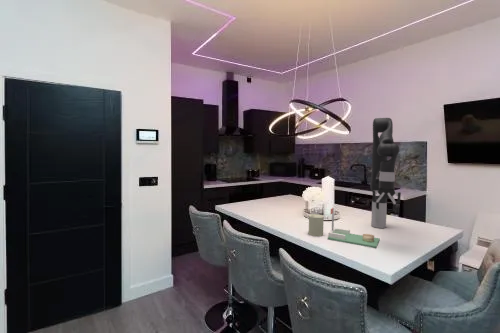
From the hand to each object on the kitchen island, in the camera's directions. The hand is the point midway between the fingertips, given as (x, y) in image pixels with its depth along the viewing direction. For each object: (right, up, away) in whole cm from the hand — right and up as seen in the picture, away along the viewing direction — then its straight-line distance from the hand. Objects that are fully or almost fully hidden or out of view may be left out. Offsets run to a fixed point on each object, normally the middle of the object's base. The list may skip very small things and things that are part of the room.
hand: (385, 209), depth 147 cm
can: (-34, -19, +20) cm, 43 cm away
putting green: (-14, -19, +10) cm, 26 cm away
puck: (-7, -18, +5) cm, 21 cm away
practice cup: (-20, -18, +14) cm, 30 cm away
